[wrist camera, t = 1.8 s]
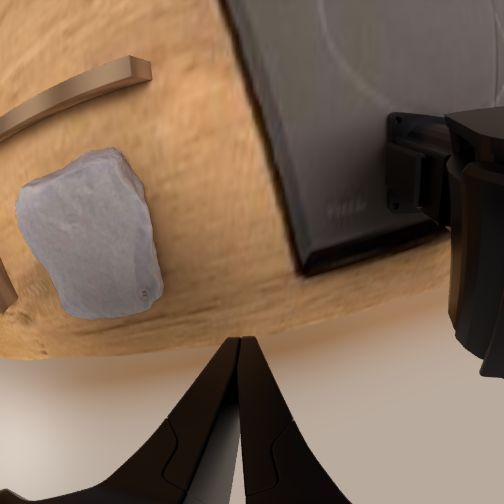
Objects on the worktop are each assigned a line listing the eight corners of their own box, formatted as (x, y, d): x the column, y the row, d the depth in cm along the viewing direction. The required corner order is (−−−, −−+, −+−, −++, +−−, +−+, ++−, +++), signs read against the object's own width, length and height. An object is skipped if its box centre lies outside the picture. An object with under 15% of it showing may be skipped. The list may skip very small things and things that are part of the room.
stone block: (135, 130, 18) (28, 182, 17) (117, 136, 13) (-4, 201, 13) (187, 272, 23) (87, 302, 23) (186, 309, 19) (72, 338, 19)
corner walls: (150, 61, 14) (129, 55, 11) (193, 295, 21) (185, 322, 19) (-36, 153, 15) (-57, 161, 13) (12, 296, 23) (-3, 313, 20)
